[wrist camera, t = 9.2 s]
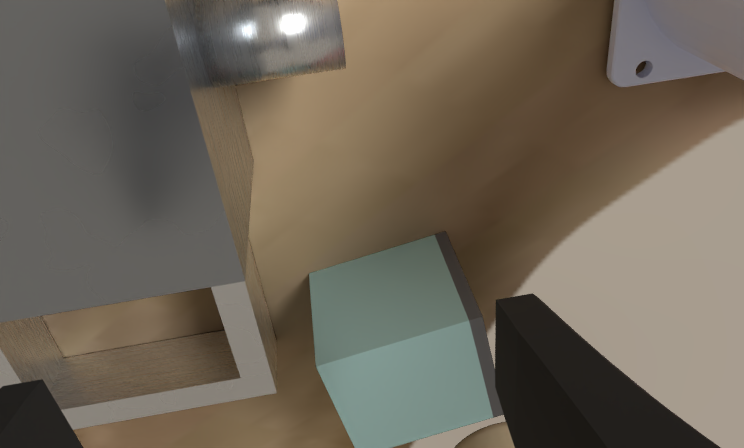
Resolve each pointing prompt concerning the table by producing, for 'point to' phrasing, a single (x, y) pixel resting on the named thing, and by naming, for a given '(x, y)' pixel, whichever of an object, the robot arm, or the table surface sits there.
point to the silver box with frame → (139, 188)
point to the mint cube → (402, 344)
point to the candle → (489, 438)
